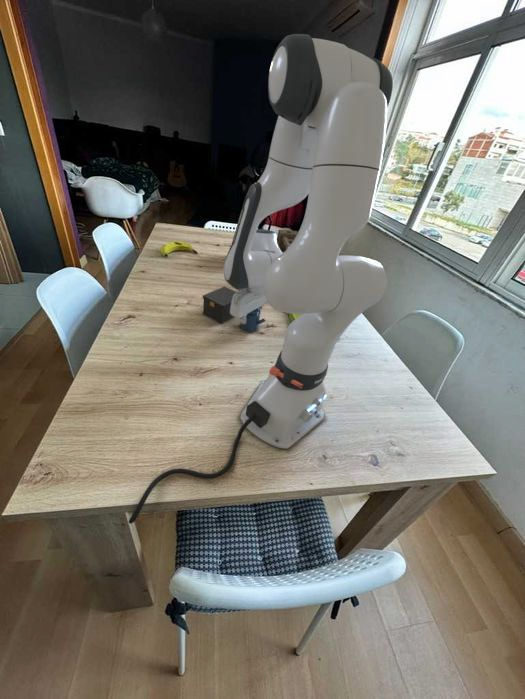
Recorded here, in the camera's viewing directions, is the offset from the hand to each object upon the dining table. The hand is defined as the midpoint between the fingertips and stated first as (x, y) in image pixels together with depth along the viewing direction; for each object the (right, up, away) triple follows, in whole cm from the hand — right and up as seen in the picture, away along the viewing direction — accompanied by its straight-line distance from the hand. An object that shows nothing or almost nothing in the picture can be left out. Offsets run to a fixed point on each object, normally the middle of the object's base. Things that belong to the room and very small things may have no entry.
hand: (250, 319), depth 101 cm
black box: (-11, +3, +7) cm, 13 cm away
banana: (-38, +37, +46) cm, 70 cm away
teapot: (0, -3, +2) cm, 3 cm away
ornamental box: (+20, +26, +45) cm, 55 cm away
